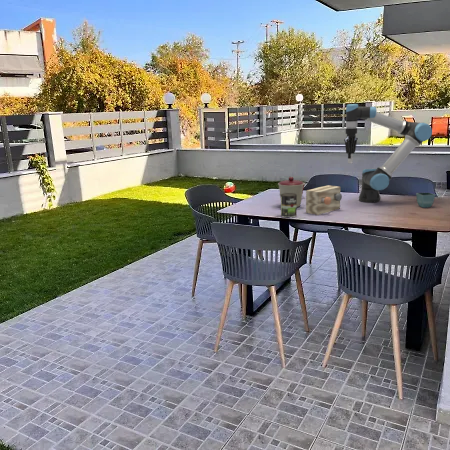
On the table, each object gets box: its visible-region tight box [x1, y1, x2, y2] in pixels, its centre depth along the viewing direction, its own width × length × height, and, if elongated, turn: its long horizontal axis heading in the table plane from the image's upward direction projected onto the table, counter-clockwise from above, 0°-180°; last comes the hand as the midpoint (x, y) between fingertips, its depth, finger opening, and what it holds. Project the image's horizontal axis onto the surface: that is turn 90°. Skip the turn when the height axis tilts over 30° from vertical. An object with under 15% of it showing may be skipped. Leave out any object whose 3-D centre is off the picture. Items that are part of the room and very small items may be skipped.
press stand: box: [305, 184, 342, 216], centre depth 302 cm, size 10×24×15 cm, turn 132°
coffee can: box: [280, 193, 298, 218], centre depth 292 cm, size 10×10×14 cm
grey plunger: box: [334, 192, 343, 202], centre depth 305 cm, size 12×5×5 cm, turn 42°
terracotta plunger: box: [321, 197, 331, 205], centre depth 295 cm, size 12×5×5 cm, turn 42°
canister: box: [277, 176, 305, 208], centre depth 317 cm, size 18×18×21 cm
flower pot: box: [415, 192, 436, 209], centre depth 303 cm, size 9×9×9 cm
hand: (350, 163), depth 309 cm, fingers closed
